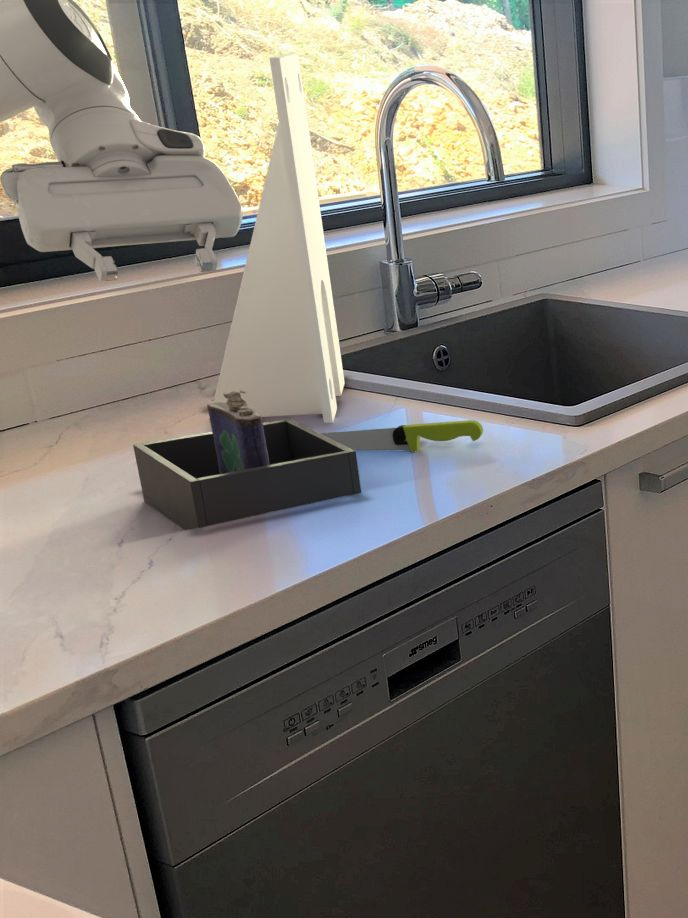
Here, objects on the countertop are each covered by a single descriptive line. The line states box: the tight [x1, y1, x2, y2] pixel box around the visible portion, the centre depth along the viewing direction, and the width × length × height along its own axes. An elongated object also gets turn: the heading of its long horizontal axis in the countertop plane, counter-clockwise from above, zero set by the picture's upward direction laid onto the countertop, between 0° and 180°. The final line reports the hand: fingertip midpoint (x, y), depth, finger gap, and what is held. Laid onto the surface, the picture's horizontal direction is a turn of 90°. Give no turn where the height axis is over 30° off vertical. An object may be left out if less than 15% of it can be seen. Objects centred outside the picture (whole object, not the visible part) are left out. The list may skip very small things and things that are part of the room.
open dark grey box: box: [132, 418, 362, 531], centre depth 136 cm, size 16×16×6 cm
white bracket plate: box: [209, 52, 346, 424], centre depth 164 cm, size 20×14×40 cm
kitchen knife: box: [319, 419, 484, 453], centre depth 154 cm, size 22×1×3 cm, turn 90°
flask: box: [206, 390, 270, 474], centre depth 135 cm, size 9×3×11 cm, turn 44°
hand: (160, 272), depth 137 cm, fingers open, 8 cm apart
